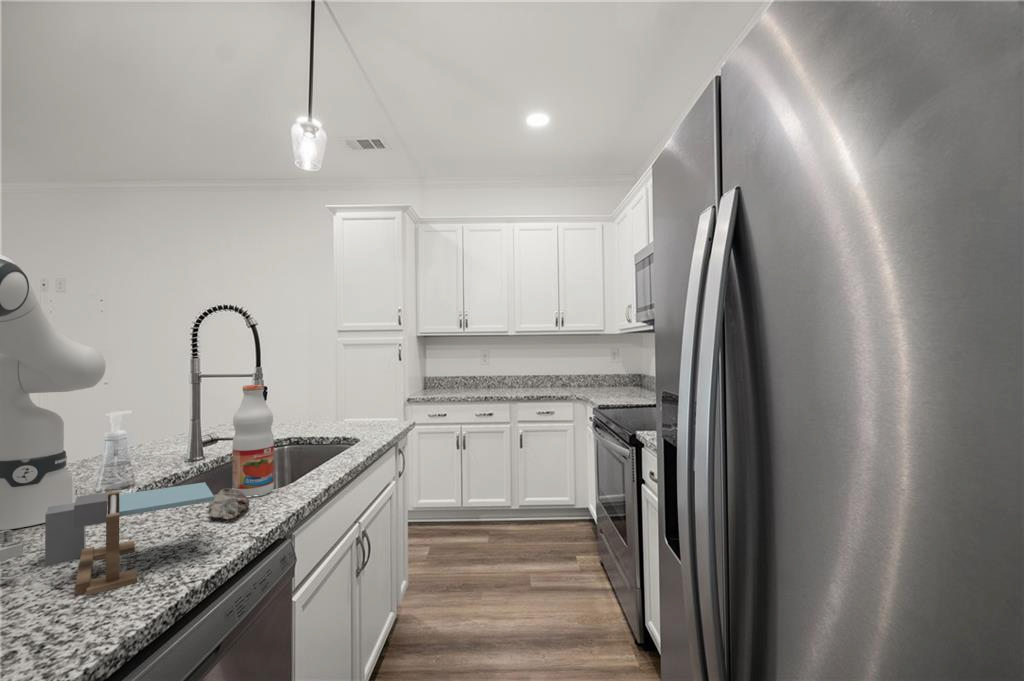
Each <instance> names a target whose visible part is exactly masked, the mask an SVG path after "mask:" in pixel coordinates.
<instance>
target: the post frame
mask: <svg viewBox="0 0 1024 681" xmlns="http://www.w3.org/2000/svg"><path fill="white" fill-rule="evenodd" d="M112 495H116V513H114V514H110V501H111V496H112ZM119 495H120V491H119V490H117V491H111V492H108V501H107V515H106V523H105V546H102V547H97V548H95V547H94V546H92V547H86V548H85V549H82V552H81V557H80V559H79V564H78V570H77V573H76V579H75V585H74V587H75V588H74V590H75V595H74V596H79V595H83V594H86V596H92V595H94V594H95V595H96V594H99V593H103V592H105V591H109V590H113V589H117V588H122V587H126V586H129V585H132V584H137V583H138V573H137V571H138V570H137V568H133V569H129V570H125V571H121V572H120V555H124V554H130V553H133V552H135V551H136V550H135V549H136V547H135V540H130V541H125V542H120V517H119ZM129 552H130V553H129ZM103 559H105V576H101V577H98V578H92V573H93V567H94V566H93V565H94V561H93V560H95V561H99V560H103Z"/></svg>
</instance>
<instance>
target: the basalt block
mask: <svg viewBox="0 0 1024 681" xmlns="http://www.w3.org/2000/svg"><path fill="white" fill-rule="evenodd" d="M74 505H75V503H71V504H64V505H58V506H52V507H49V508H48V510H47V512H46V514H45V523H44V524H45V526H44V532H45V536H44V543H45V545H44V552H45V553H44V563H45V564H44V566H45V567H49V566H53V564H54V565H57V563H58V564H62V563H61V562H63V563H67V562H71V561H70V560H72V561H75V559H76V560H80V559H79V558H80V557H81V552H82V549H85V548H87V547H86V545H87V542H86V541H87V526H83V527H77V528H73V524H74ZM66 561H67V562H66ZM48 565H49V566H48Z"/></svg>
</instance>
